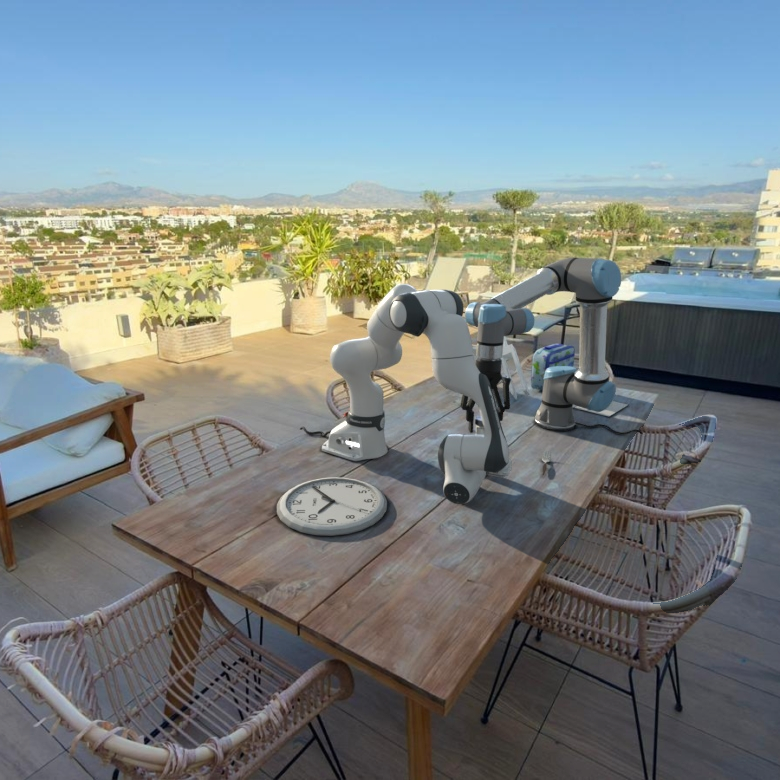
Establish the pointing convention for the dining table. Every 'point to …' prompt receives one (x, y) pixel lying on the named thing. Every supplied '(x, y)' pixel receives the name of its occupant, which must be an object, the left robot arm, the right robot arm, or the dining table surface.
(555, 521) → the dining table surface
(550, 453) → the fork
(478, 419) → the lid
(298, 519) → the wall clock
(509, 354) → the white plastic object
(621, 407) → the invitation card
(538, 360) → the lunch box
